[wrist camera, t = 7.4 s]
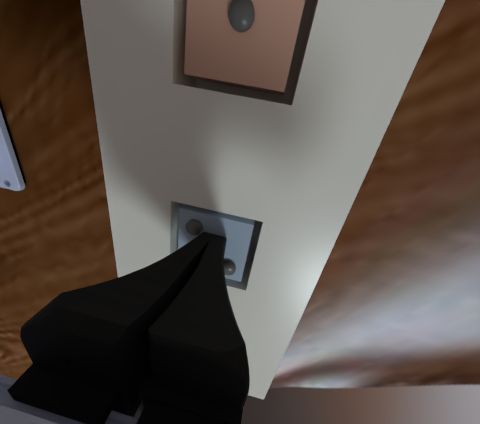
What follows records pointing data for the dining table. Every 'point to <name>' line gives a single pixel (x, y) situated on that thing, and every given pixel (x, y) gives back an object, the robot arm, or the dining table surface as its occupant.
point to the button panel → (248, 144)
